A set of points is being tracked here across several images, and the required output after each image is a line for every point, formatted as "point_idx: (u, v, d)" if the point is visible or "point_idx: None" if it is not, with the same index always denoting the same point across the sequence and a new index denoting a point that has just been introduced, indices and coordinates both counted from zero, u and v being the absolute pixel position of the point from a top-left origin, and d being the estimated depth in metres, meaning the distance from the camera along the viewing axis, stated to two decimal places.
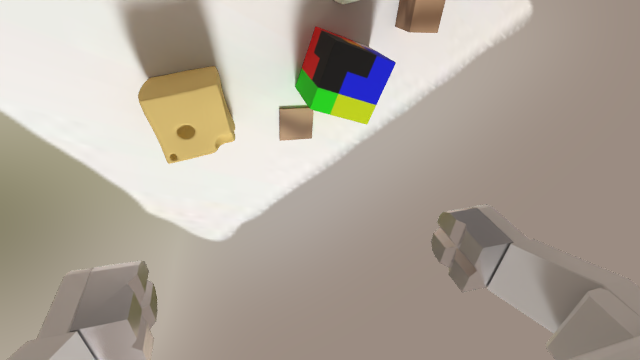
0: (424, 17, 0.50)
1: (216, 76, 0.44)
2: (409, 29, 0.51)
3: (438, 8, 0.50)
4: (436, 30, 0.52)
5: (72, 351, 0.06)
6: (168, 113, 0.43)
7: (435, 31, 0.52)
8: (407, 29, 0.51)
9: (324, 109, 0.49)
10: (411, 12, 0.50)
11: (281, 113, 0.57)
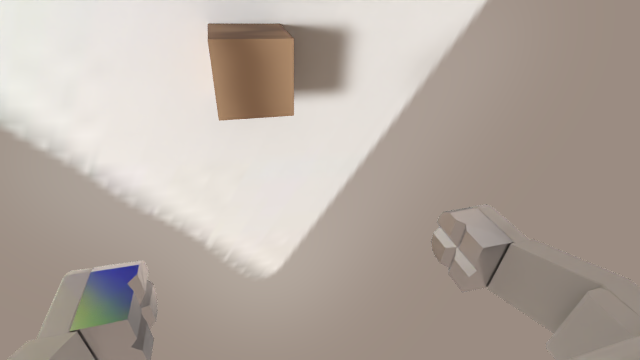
0: (247, 76, 0.20)
1: None
2: (214, 38, 0.19)
3: (270, 105, 0.22)
4: (223, 116, 0.21)
5: (72, 351, 0.06)
6: None
7: (221, 114, 0.21)
8: (212, 36, 0.19)
9: None
10: (253, 36, 0.20)
11: None
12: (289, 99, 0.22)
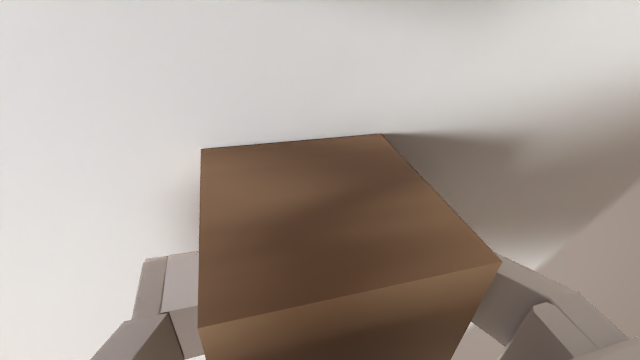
0: None
1: None
2: (224, 309, 0.05)
3: None
4: None
5: (164, 332, 0.06)
6: None
7: None
8: (216, 278, 0.05)
9: None
10: (362, 258, 0.06)
11: None
12: None
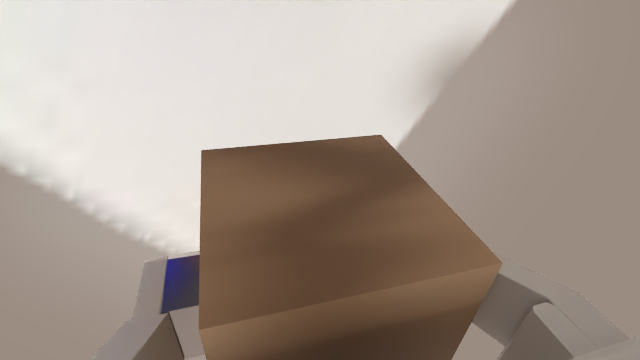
0: None
1: None
2: (225, 310, 0.05)
3: None
4: None
5: (164, 331, 0.06)
6: None
7: None
8: (217, 280, 0.05)
9: None
10: (363, 259, 0.06)
11: None
12: None
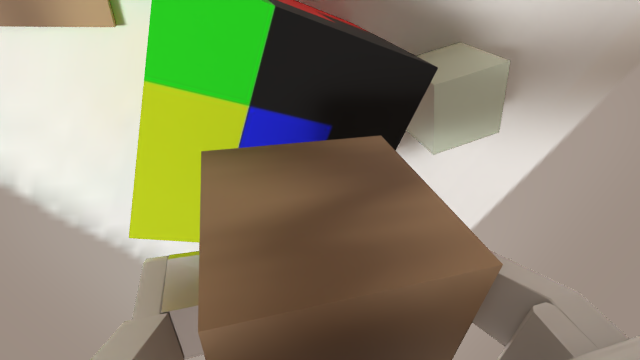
0: None
1: None
2: (225, 312, 0.05)
3: None
4: None
5: (164, 331, 0.06)
6: None
7: None
8: (216, 282, 0.05)
9: (166, 51, 0.10)
10: (363, 260, 0.06)
11: None
12: None
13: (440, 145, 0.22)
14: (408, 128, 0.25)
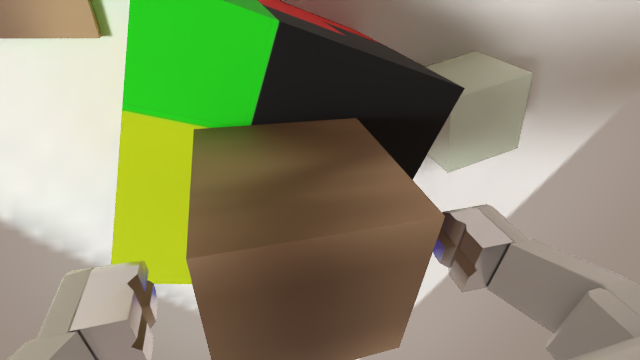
0: (304, 310, 0.07)
1: None
2: (208, 246, 0.06)
3: (351, 344, 0.09)
4: None
5: (72, 351, 0.06)
6: None
7: None
8: (203, 225, 0.06)
9: (147, 75, 0.08)
10: (326, 212, 0.07)
11: None
12: (397, 326, 0.09)
13: (455, 162, 0.20)
14: None
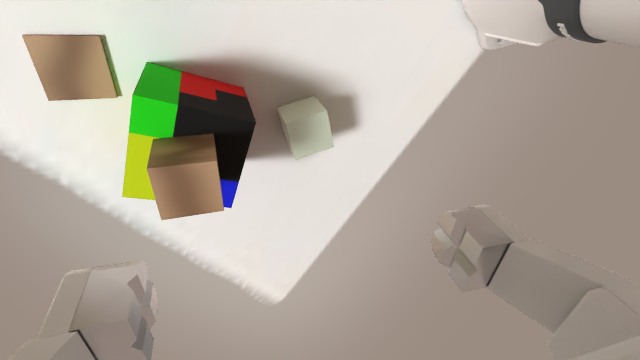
0: (181, 188, 0.26)
1: None
2: (152, 166, 0.25)
3: (203, 205, 0.28)
4: (165, 216, 0.27)
5: (72, 351, 0.06)
6: None
7: (162, 215, 0.27)
8: (151, 163, 0.25)
9: (136, 122, 0.27)
10: (184, 160, 0.26)
11: (90, 38, 0.31)
12: (218, 200, 0.28)
13: (298, 154, 0.39)
14: (288, 144, 0.42)
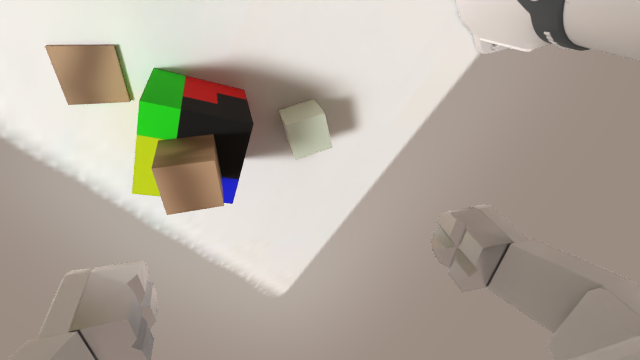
0: (184, 186, 0.29)
1: None
2: (156, 166, 0.27)
3: (204, 201, 0.30)
4: (170, 211, 0.30)
5: (72, 351, 0.06)
6: None
7: (168, 211, 0.29)
8: (155, 163, 0.27)
9: (143, 125, 0.30)
10: (185, 160, 0.28)
11: (106, 47, 0.34)
12: (218, 196, 0.30)
13: (298, 154, 0.42)
14: (289, 144, 0.45)
